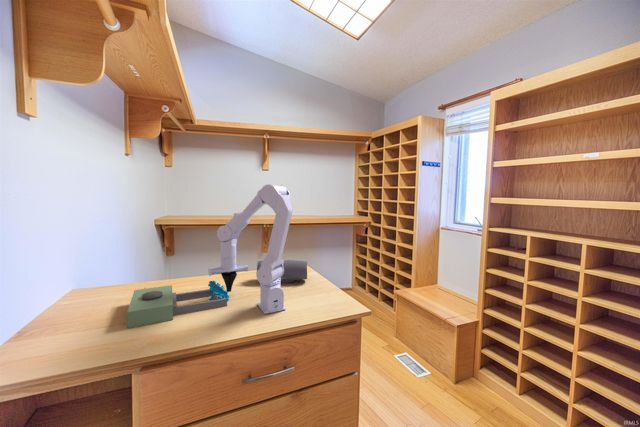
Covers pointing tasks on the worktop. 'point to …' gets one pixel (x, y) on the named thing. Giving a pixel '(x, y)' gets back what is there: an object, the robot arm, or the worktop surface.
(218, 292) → the gear
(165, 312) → the green block with rails
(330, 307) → the worktop surface
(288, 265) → the bluetooth speaker
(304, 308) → the worktop surface
